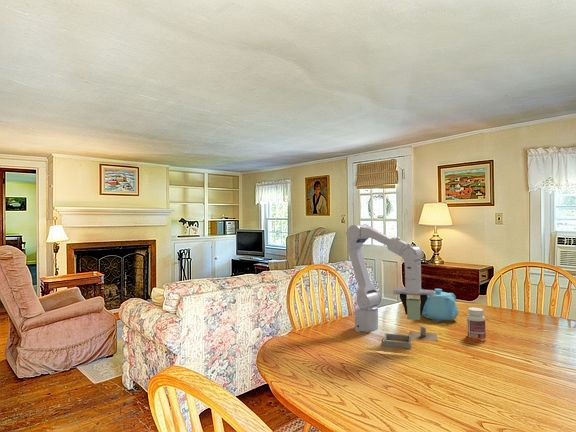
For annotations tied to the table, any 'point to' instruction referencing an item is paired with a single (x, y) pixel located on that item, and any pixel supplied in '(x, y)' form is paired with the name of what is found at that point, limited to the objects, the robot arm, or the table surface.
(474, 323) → the pill bottle
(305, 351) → the table surface
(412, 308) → the green sleeve
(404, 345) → the grey tray
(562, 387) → the table surface
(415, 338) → the pin block
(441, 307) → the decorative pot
